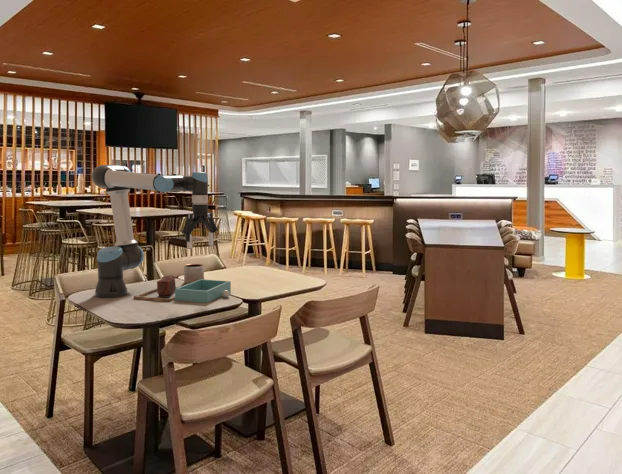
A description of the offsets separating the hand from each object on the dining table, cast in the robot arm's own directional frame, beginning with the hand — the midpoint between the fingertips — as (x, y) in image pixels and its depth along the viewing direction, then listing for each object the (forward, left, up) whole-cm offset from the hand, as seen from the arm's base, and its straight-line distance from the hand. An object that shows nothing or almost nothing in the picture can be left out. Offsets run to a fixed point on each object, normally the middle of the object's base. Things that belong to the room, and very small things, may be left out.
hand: (200, 246), depth 260 cm
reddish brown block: (-17, -4, -25) cm, 30 cm away
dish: (+2, 0, -24) cm, 24 cm away
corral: (-17, -4, -24) cm, 30 cm away
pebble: (+14, 0, -24) cm, 28 cm away
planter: (-19, +28, -25) cm, 42 cm away
